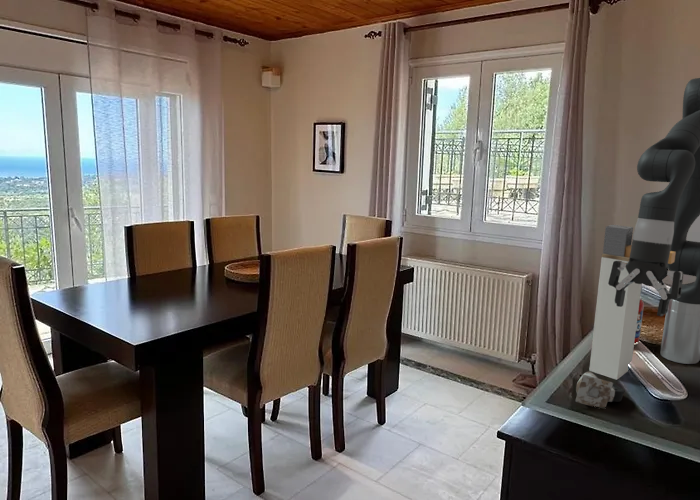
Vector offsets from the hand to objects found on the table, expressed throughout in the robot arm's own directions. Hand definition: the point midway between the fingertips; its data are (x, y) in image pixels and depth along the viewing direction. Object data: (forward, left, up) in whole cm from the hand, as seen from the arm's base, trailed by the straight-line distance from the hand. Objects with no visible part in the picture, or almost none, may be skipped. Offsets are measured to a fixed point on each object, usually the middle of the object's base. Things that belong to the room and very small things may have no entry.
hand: (639, 310), depth 114 cm
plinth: (-7, -15, -22) cm, 28 cm away
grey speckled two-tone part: (+6, -2, -23) cm, 24 cm away
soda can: (-23, -29, -23) cm, 44 cm away
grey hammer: (-7, -10, +10) cm, 16 cm away
